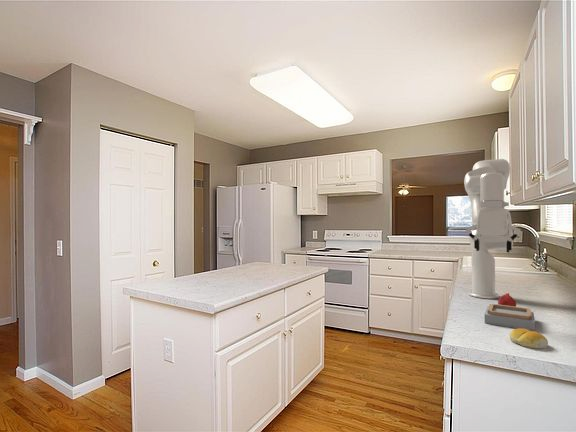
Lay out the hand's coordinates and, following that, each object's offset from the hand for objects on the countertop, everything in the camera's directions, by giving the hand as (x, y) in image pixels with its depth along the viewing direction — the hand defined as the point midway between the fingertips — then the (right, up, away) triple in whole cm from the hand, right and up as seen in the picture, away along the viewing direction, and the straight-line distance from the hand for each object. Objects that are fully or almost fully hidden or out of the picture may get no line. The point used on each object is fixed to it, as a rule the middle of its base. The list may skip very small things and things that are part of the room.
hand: (492, 251), depth 122 cm
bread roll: (-7, -24, -27) cm, 37 cm away
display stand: (+1, -24, -7) cm, 25 cm away
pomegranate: (+7, -24, +3) cm, 26 cm away
